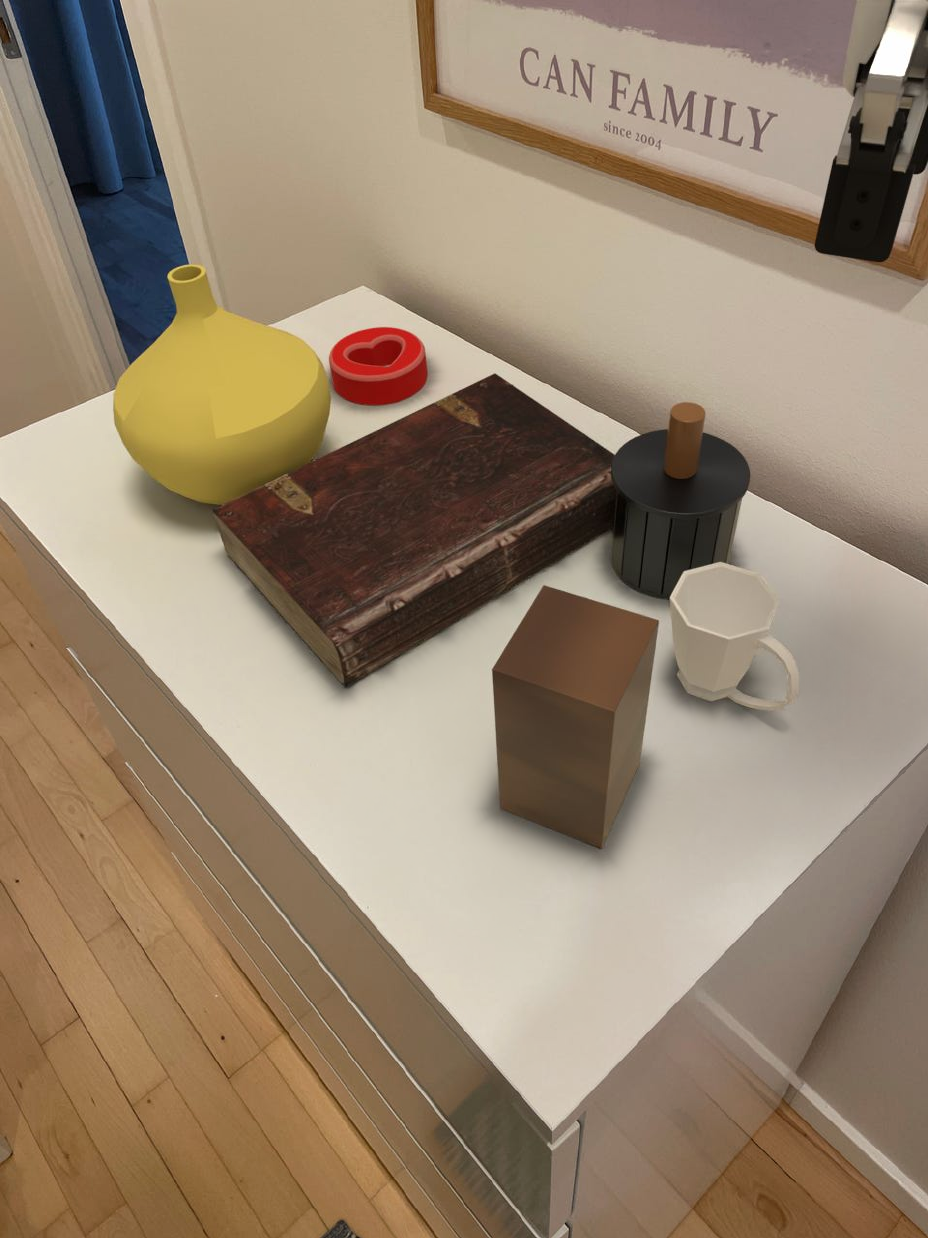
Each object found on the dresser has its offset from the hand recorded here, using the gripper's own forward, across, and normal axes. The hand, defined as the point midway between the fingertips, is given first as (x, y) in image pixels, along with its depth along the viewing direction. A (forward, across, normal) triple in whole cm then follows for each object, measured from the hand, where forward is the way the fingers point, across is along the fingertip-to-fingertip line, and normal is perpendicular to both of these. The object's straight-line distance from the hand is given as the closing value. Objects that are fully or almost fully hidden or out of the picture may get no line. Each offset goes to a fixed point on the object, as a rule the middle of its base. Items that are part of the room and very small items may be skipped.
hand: (872, 209), depth 45 cm
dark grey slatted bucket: (+32, +7, +9) cm, 34 cm away
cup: (+32, -4, +1) cm, 33 cm away
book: (+32, +2, +28) cm, 43 cm away
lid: (+24, +7, +9) cm, 26 cm away
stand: (+32, -16, +8) cm, 37 cm away
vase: (+32, +3, +48) cm, 58 cm away
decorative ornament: (+32, +21, +44) cm, 59 cm away
